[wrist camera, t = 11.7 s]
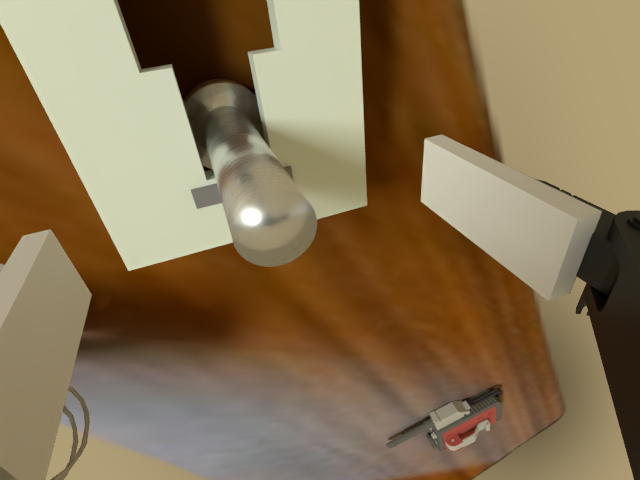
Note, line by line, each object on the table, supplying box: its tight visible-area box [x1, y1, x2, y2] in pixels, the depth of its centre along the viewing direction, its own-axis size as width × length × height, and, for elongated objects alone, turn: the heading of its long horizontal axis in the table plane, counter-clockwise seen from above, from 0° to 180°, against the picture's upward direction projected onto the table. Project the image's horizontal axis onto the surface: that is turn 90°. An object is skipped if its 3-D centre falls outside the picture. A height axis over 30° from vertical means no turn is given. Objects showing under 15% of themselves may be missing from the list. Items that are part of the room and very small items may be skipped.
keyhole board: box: [0, 0, 367, 271], centre depth 20 cm, size 20×16×5 cm
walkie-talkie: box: [386, 388, 502, 452], centre depth 57 cm, size 9×4×20 cm
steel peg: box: [184, 78, 317, 267], centre depth 19 cm, size 6×6×15 cm
